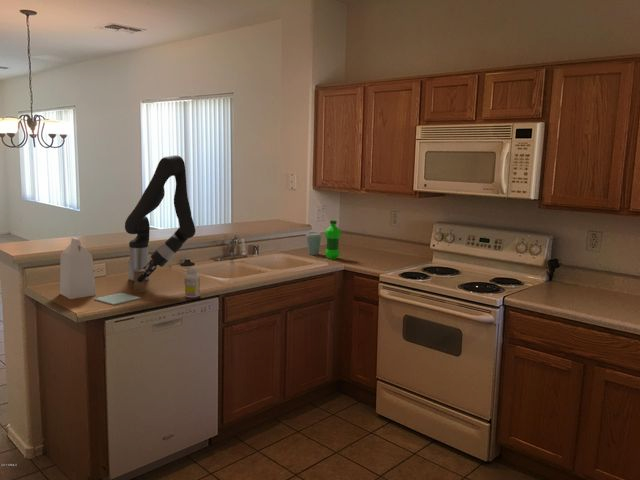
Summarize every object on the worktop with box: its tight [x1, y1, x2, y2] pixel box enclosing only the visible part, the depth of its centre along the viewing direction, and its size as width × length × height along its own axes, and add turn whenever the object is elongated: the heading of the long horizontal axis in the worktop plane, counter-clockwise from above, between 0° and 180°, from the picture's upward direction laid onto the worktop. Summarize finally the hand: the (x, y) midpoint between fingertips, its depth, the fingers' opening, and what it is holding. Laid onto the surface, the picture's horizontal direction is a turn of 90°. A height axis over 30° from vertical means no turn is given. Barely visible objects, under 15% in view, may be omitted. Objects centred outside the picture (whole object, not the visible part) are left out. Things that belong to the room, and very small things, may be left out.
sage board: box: [93, 292, 142, 306], centre depth 240 cm, size 14×14×1 cm
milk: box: [59, 237, 97, 300], centre depth 245 cm, size 12×12×26 cm
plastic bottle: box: [324, 219, 342, 260], centre depth 351 cm, size 10×11×25 cm
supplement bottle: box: [184, 267, 201, 299], centre depth 248 cm, size 7×7×13 cm
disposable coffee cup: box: [305, 231, 322, 256], centre depth 365 cm, size 11×11×15 cm
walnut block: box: [133, 269, 147, 293], centre depth 255 cm, size 5×5×10 cm
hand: (138, 279), depth 255 cm, fingers open, 8 cm apart
